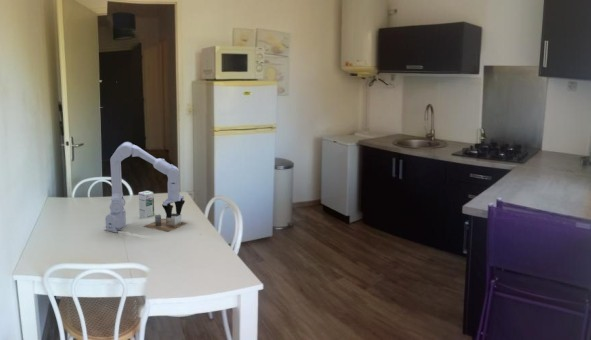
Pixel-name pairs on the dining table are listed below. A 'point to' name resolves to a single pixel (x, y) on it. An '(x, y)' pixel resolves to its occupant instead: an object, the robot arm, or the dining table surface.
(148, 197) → the syrup box
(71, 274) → the dining table surface
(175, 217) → the cube with square recess
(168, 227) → the board
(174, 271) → the dining table surface
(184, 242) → the dining table surface
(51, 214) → the dining table surface
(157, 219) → the dark grey block
